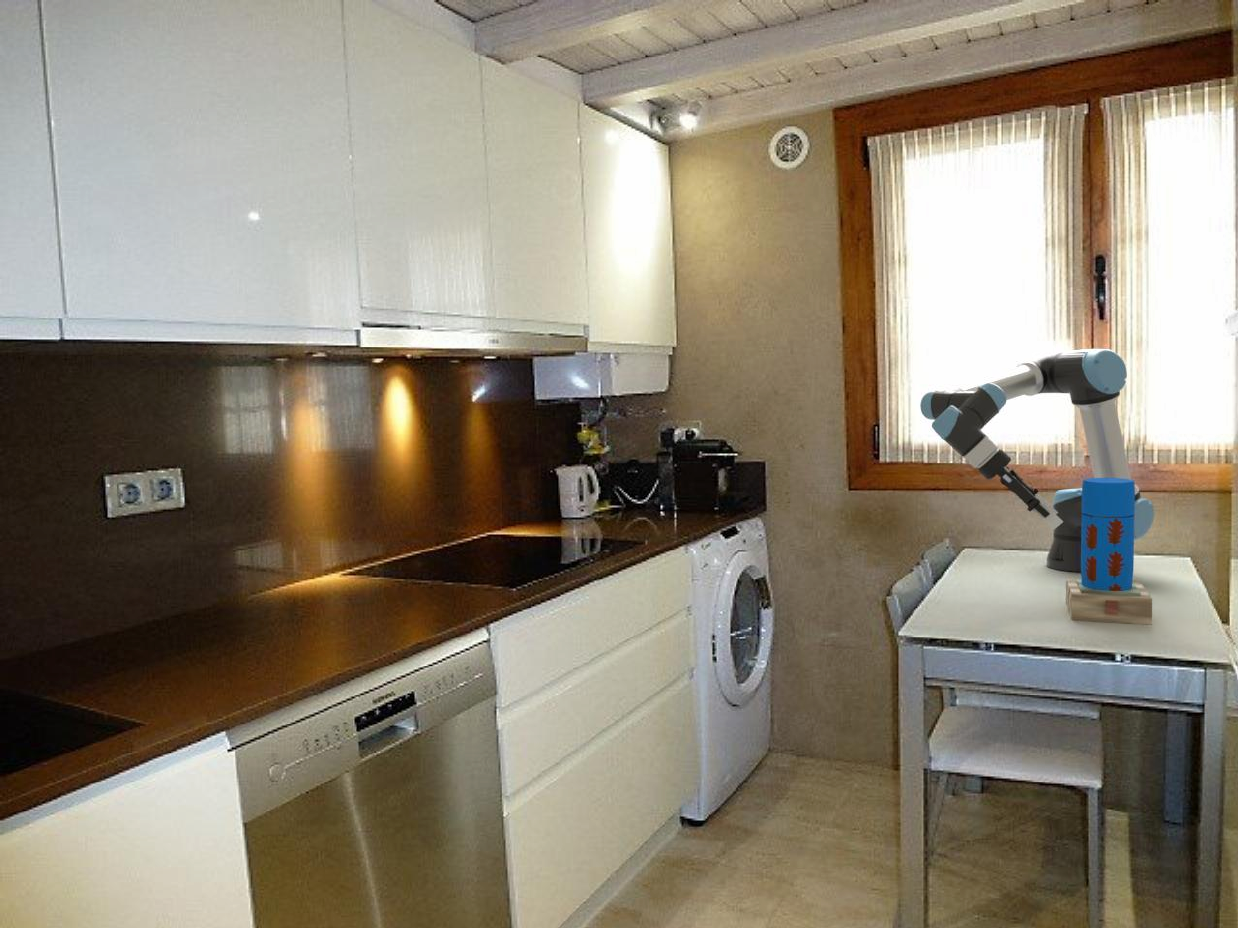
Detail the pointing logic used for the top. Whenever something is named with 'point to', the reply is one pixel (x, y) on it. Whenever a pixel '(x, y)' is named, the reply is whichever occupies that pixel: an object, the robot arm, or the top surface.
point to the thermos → (1107, 533)
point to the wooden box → (1108, 604)
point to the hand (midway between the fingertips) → (1056, 520)
